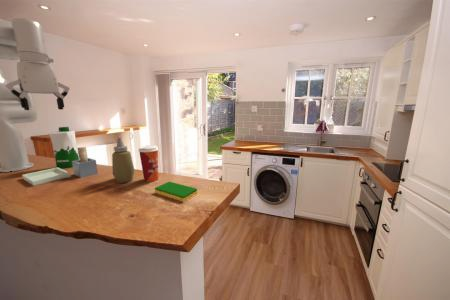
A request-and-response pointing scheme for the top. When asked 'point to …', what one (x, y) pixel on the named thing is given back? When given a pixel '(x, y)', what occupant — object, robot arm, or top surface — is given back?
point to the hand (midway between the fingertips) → (44, 109)
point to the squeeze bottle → (122, 163)
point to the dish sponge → (176, 191)
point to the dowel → (82, 154)
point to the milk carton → (64, 147)
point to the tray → (46, 176)
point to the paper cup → (149, 162)
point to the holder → (84, 168)
